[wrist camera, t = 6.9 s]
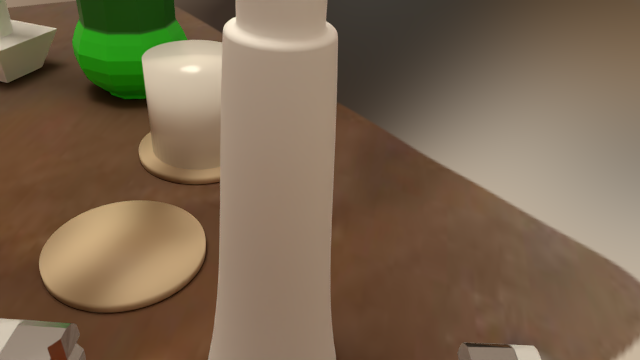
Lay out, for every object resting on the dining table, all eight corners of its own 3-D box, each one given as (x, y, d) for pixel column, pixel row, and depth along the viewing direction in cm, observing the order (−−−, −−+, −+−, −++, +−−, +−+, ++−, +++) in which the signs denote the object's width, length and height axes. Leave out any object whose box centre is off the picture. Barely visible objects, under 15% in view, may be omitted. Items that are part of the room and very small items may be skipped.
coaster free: (10, 308, 27) (7, 299, 27) (78, 204, 35) (76, 196, 34) (188, 316, 27) (187, 308, 27) (217, 211, 35) (217, 204, 35)
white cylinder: (141, 166, 38) (128, 73, 34) (165, 121, 44) (156, 37, 40) (240, 172, 38) (238, 80, 34) (251, 126, 44) (250, 43, 40)
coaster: (123, 180, 37) (122, 173, 37) (157, 121, 45) (156, 115, 44) (253, 187, 38) (253, 180, 37) (264, 127, 45) (264, 121, 45)
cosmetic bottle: (258, 296, 29) (259, -201, 17) (357, 346, 27) (441, -191, 15) (180, 377, 24) (106, -222, 12) (291, 445, 22) (333, -211, 10)
